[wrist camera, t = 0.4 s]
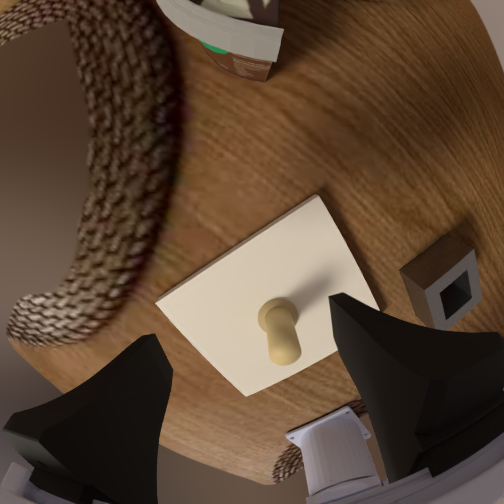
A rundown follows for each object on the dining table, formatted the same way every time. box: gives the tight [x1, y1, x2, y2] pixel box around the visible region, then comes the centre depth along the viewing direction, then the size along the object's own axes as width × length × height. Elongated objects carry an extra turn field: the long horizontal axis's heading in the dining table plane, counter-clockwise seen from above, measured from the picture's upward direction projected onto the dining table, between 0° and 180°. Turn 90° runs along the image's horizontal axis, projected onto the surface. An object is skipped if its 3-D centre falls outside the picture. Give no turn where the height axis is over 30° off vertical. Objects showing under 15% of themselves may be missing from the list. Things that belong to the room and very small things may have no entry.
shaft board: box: [156, 194, 380, 397], centre depth 19 cm, size 12×14×6 cm
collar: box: [399, 235, 482, 331], centre depth 19 cm, size 6×6×4 cm
